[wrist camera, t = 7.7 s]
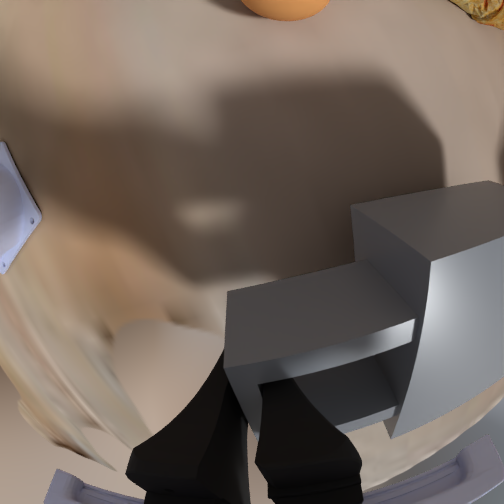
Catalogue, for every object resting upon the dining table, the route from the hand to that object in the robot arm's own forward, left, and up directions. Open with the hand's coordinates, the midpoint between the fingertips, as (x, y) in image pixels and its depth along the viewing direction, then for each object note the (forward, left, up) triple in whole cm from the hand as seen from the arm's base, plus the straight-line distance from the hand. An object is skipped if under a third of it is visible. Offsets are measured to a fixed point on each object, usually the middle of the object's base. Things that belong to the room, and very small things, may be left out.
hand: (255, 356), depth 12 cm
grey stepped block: (+7, -2, -3) cm, 8 cm away
